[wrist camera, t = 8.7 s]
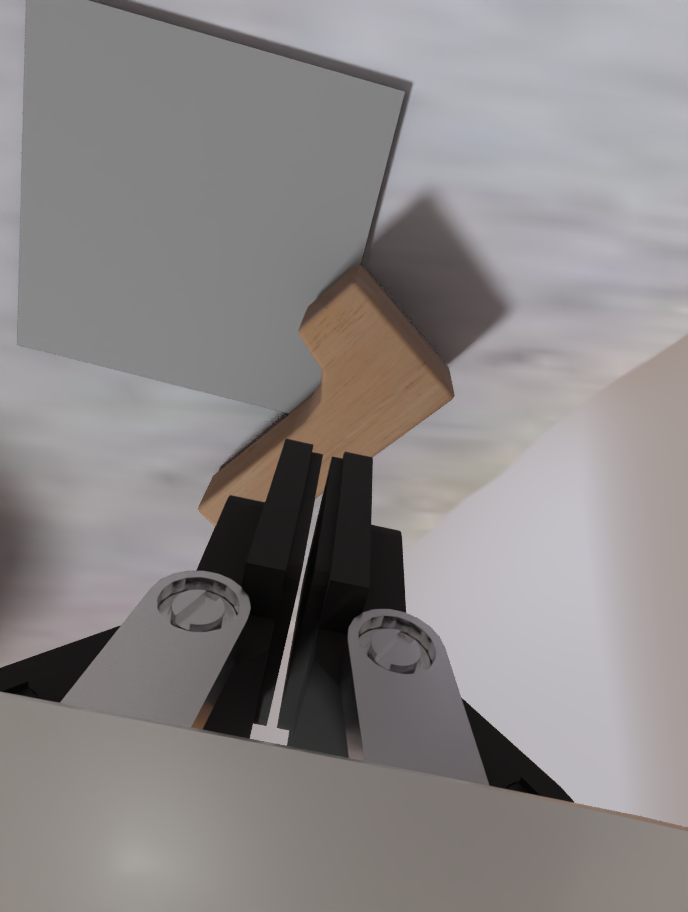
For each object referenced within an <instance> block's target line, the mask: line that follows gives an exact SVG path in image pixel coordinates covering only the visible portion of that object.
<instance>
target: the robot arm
mask: <svg viewBox="0 0 688 912" xmlns="http://www.w3.org/2000/svg"><path fill="white" fill-rule="evenodd" d="M312 450H313V444H309V443H304V442H300V441H295V440H290V439H285V442H284V445H283V448H282V451H281V455H280V458H279V461H278V464H277V467H276V470H275V473H274V476H273V480H272V483H271V486H270V489H269V492H268V495H267V498H266V501H265V502H261V501H257V500H252V499H247V498H242V497H238V496H233V495H229V497H228V499H227V501H226V503H225V505H224V508H223V510H222V512H221V515H220V517H219V519H218V522H217V524H216V526H215V529H214V531H213V533H212V536H211V538H210V540H209V542H208V545H207V547H206V549H205V552H204V554H203V556H202V559H201V561H200V563H199V566H198V568H197V570H196V571H184V572H179V573H174V574H172V575H169V576H167V577H165V578H163V579H161V580H159V581H158V582H157V583H156V584H155V585H154V586H153V587H151V589H150V590H149V591H148V592H147V594H146V595H145V596H144V597H143V599H142V600H141V601H140V602H139V604H138V605H137V606H136V607H135V609H134V610H133V611H132V612H131V614H130V615H129V616H128V618H127V619H126V620H125V621H124V623H123V624H122V625H121V626H118V627H115V628H112V629H109V630H107V631H104V632H101V633H98V634H95V635H92V636H90V637H87V638H84V639H81V640H78V641H75V642H73V643H70V644H67V645H64V646H61V647H58V648H56V649H53V650H50V651H47V652H44V653H41V654H39V655H36V656H33V657H30V658H27V659H24V660H21V661H19V662H16V663H13V664H10V665H7V666H4V667H2V668H0V912H688V827H683V826H679V825H675V824H671V823H667V822H663V821H658V820H654V819H650V818H646V817H642V816H637V815H632V814H627V813H621V812H617V811H612V810H607V809H602V808H597V807H592V806H587V805H583V804H578V803H574V801H573V800H572V799H571V798H570V797H569V796H568V795H567V794H566V792H565V791H564V790H563V789H562V788H561V787H560V786H559V785H558V784H557V783H556V782H555V781H553V780H552V779H551V778H550V777H549V776H548V775H547V774H546V773H545V772H543V771H542V770H541V769H540V768H539V767H538V766H537V765H536V764H535V763H533V762H532V761H531V760H530V759H529V758H528V757H527V756H526V755H524V754H523V753H522V752H521V751H520V750H519V749H518V748H517V747H516V746H514V745H513V744H512V743H511V742H510V741H509V740H508V739H507V738H506V737H505V736H503V735H502V734H501V733H500V732H499V731H498V730H497V729H496V728H494V727H493V726H492V725H491V724H490V723H489V722H488V721H487V720H486V719H484V718H483V717H482V716H481V715H480V714H479V713H478V712H477V711H476V710H474V709H473V708H472V707H471V706H470V705H469V704H468V703H467V702H466V701H465V700H463V699H462V698H461V695H460V693H459V689H458V686H457V683H456V680H455V677H454V674H453V671H452V667H451V664H450V661H449V658H448V655H447V652H446V649H445V647H444V645H443V643H442V641H441V639H440V637H439V636H438V635H437V634H436V632H435V631H434V630H433V629H432V628H431V627H430V626H428V625H427V624H426V623H424V622H423V621H421V620H420V619H418V618H416V617H414V616H412V615H410V614H407V613H406V605H405V604H406V603H405V586H404V569H403V549H402V535H401V532H400V531H398V530H393V529H389V528H384V527H379V526H375V525H371V509H372V466H373V458H372V457H369V456H364V455H359V454H355V453H350V452H346V451H345V452H344V454H343V458H338V457H333V456H332V458H331V462H330V466H329V471H328V475H327V479H326V484H325V488H324V492H323V496H322V501H321V505H320V509H319V514H318V518H317V522H316V527H315V531H314V535H313V539H312V544H311V548H310V552H309V557H308V561H307V565H306V570H305V574H304V579H303V584H302V589H301V595H300V600H299V606H298V612H297V617H296V623H295V629H294V634H293V640H292V646H291V651H290V657H289V662H288V668H287V674H286V680H285V685H284V692H283V697H282V703H281V708H280V713H279V719H278V725H277V728H280V729H285V730H290V731H289V737H288V744H287V746H285V745H280V744H274V743H269V742H264V741H259V740H254V739H250V734H251V730H252V725H253V723H254V724H259V725H264V726H266V725H267V721H268V717H269V712H270V708H271V704H272V699H273V695H274V691H275V686H276V682H277V678H278V673H279V669H280V665H281V660H282V656H283V651H284V647H285V643H286V638H287V634H288V630H289V625H290V621H291V617H292V612H293V608H294V604H295V599H296V595H297V590H298V586H299V581H300V577H301V572H302V567H303V561H304V556H305V551H306V545H307V540H308V534H309V529H310V523H311V518H312V512H313V507H314V502H315V496H316V491H317V485H318V480H319V474H320V469H321V463H322V458H323V454H319V453H315V452H312Z"/></svg>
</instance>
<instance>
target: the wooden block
mask: <svg viewBox="0 0 688 912" xmlns="http://www.w3.org/2000/svg"><path fill="white" fill-rule="evenodd" d="M298 331H299V336H300V337H301V339H302V340H303V342H304V343H305V345H306V346H307V348H308V349H309V351H310V352H311V354H312V355H313V357H314V359H315V360H316V362H317V363H318V365H319V366H320V368H321V369H322V373H321V383H320V384H319V386H318V387H317V389H316V390H315V392H314V393H313V394H312V396H311V397H310V398H309V399H308V400H306V401H305V402H304V403H303V404H301V405H300V406H299V407H298V408H296V409H295V410H294V411H293V412H292V413H290V414H289V415H288V416H287V417H285V418H284V419H283V420H282V421H280V422H279V423H278V424H277V425H275V426H274V427H273V428H272V429H270V430H269V431H268V432H267V433H266V434H264V435H263V436H262V437H261V438H259V439H258V440H257V441H256V442H254V443H253V444H252V445H251V446H249V447H248V448H247V449H246V450H244V451H243V452H242V453H241V454H240V455H238V456H237V457H236V458H235V459H233V460H232V461H231V462H230V463H228V464H227V465H226V466H225V467H223V468H222V469H221V470H220V471H218V472H217V473H216V474H215V475H214V476H213V477H212V480H211V482H210V484H209V486H208V488H207V490H206V492H205V494H204V496H203V499H202V501H201V503H200V505H199V507H198V510H199V512H200V513H201V514H202V515H203V516H204V517H205V518H206V519H208V520H209V521H210V522H211V523H212V524H213V525H214V526H216V524H217V522H218V519H219V517H220V515H221V512H222V510H223V508H224V505H225V503H226V501H227V499H228V497H229V495H233V496H238V497H242V498H247V499H252V500H257V501H261V502H265V501H266V498H267V495H268V492H269V489H270V486H271V483H272V480H273V476H274V473H275V470H276V467H277V464H278V461H279V458H280V455H281V451H282V448H283V445H284V442H285V439H290V440H295V441H300V442H304V443H309V444H313V450H312V452H315V453H319V454H323V458H322V463H321V469H320V474H319V480H318V485H317V491H316V496H315V498H317V497H318V496H320V495H321V494H322V493H323V492H324V488H325V484H326V479H327V475H328V471H329V466H330V462H331V458H332V456H333V457H338V458H343V454H344V452H345V451H346V452H350V453H355V454H359V455H364V456H369V457H374V456H375V455H376V454H378V453H379V452H380V451H382V450H383V449H385V448H386V447H387V446H389V445H390V444H392V443H393V442H394V441H396V440H397V439H398V438H400V437H401V436H403V435H404V434H405V433H407V432H408V431H409V430H411V429H412V428H414V427H415V426H416V425H418V424H419V423H420V422H422V421H423V420H425V419H426V418H427V417H429V416H430V415H431V414H433V413H434V412H436V411H437V410H438V409H440V408H441V407H442V406H444V405H445V404H447V403H448V402H449V401H451V400H452V399H453V397H454V390H453V386H452V381H451V376H450V371H449V368H448V366H447V365H446V364H445V363H444V362H443V360H442V359H441V358H440V357H439V356H438V354H437V353H436V352H435V351H434V350H433V349H432V347H431V346H430V345H429V344H428V343H427V341H426V340H425V339H424V338H423V337H422V336H421V334H420V333H419V332H418V331H417V330H416V328H415V327H414V326H413V325H412V324H411V323H410V321H409V320H408V319H407V318H406V317H405V315H404V314H403V313H402V312H401V311H400V309H399V308H398V307H397V306H396V305H395V304H394V302H393V301H392V300H391V299H390V298H389V296H388V295H387V294H386V293H385V292H384V290H383V289H382V288H381V287H380V286H379V285H378V283H377V282H376V281H375V280H374V279H373V277H372V276H371V275H370V274H369V273H368V272H367V270H366V269H365V268H364V267H363V266H361V265H356V266H354V267H353V268H351V269H350V270H349V271H348V272H347V273H346V274H345V275H343V276H342V277H341V278H340V279H339V280H338V281H337V282H335V283H334V284H333V285H332V286H331V287H330V288H329V289H327V290H326V291H325V292H324V293H323V294H322V295H321V296H320V297H318V298H317V299H316V300H315V301H314V302H313V303H312V304H310V305H309V306H308V308H307V310H306V312H305V314H304V317H303V319H302V322H301V324H300V327H299V329H298Z"/></svg>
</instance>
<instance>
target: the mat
mask: <svg viewBox="0 0 688 912" xmlns="http://www.w3.org/2000/svg"><path fill="white" fill-rule="evenodd" d="M404 94H405V92H404V91H401V90H397V89H394V88H390V87H387V86H384V85H380V84H377V83H373V82H370V81H366V80H363V79H359V78H356V77H352V76H349V75H345V74H342V73H339V72H335V71H332V70H328V69H325V68H321V67H318V66H314V65H311V64H307V63H304V62H300V61H297V60H294V59H290V58H287V57H283V56H280V55H276V54H273V53H269V52H266V51H262V50H259V49H255V48H252V47H249V46H245V45H242V44H238V43H235V42H231V41H228V40H224V39H221V38H217V37H214V36H210V35H207V34H204V33H200V32H197V31H193V30H190V29H186V28H183V27H179V26H176V25H172V24H169V23H165V22H162V21H159V20H155V19H152V18H148V17H145V16H141V15H138V14H134V13H131V12H127V11H124V10H120V9H117V8H114V7H110V6H107V5H103V4H100V3H96V2H93V1H89V0H26V19H25V57H24V95H23V133H22V170H21V208H20V246H19V284H18V321H17V345H19V346H23V347H27V348H31V349H35V350H39V351H43V352H47V353H51V354H55V355H59V356H63V357H67V358H71V359H75V360H79V361H83V362H87V363H91V364H95V365H98V366H102V367H106V368H110V369H114V370H118V371H122V372H126V373H130V374H134V375H138V376H142V377H146V378H150V379H154V380H158V381H162V382H166V383H170V384H174V385H178V386H182V387H185V388H189V389H193V390H197V391H201V392H205V393H209V394H213V395H217V396H221V397H225V398H229V399H233V400H237V401H241V402H245V403H249V404H253V405H257V406H261V407H265V408H269V409H272V410H276V411H280V412H284V413H288V414H290V413H292V412H293V411H294V410H295V409H296V408H298V407H299V406H300V405H301V404H303V403H304V402H305V401H306V400H308V399H309V398H310V397H311V396H312V394H313V393H314V392H315V390H316V389H317V387H318V386H319V384H320V383H321V373H322V369H321V368H320V366H319V365H318V363H317V362H316V360H315V359H314V357H313V355H312V354H311V352H310V351H309V349H308V348H307V346H306V345H305V343H304V342H303V340H302V339H301V337H300V336H299V331H298V329H299V327H300V324H301V322H302V319H303V317H304V314H305V312H306V310H307V308H308V306H309V305H310V304H312V303H313V302H314V301H315V300H316V299H317V298H318V297H320V296H321V295H322V294H323V293H324V292H325V291H326V290H327V289H329V288H330V287H331V286H332V285H333V284H334V283H335V282H337V281H338V280H339V279H340V278H341V277H342V276H343V275H345V274H346V273H347V272H348V271H349V270H350V269H351V268H353V267H354V266H356V265H361V261H362V257H363V253H364V250H365V246H366V242H367V238H368V234H369V230H370V226H371V222H372V218H373V214H374V211H375V207H376V203H377V199H378V195H379V191H380V187H381V183H382V179H383V176H384V172H385V168H386V164H387V160H388V156H389V152H390V148H391V144H392V141H393V137H394V133H395V129H396V125H397V121H398V117H399V113H400V109H401V105H402V102H403V98H404Z"/></svg>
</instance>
